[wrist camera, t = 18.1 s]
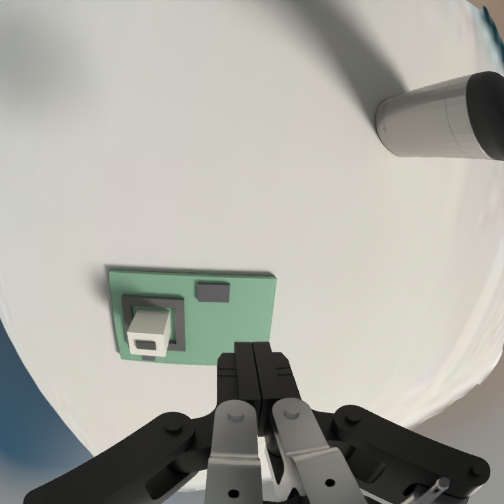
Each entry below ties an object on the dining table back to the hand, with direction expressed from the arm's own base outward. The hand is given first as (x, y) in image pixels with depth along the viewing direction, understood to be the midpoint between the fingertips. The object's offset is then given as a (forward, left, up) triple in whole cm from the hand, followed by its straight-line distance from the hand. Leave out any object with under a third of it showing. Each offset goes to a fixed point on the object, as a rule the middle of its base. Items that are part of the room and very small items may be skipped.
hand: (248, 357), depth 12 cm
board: (+4, +12, -24) cm, 27 cm away
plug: (+9, +12, -23) cm, 27 cm away
